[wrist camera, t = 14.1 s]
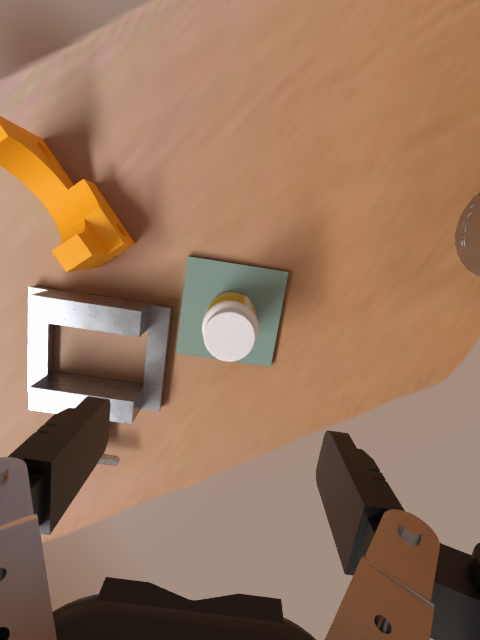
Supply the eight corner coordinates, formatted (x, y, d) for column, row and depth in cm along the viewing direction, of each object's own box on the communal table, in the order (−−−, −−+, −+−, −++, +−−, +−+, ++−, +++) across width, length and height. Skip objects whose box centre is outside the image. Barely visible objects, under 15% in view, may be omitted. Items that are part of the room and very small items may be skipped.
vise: (172, 306, 33) (163, 314, 29) (156, 457, 37) (146, 482, 33) (34, 285, 32) (6, 291, 28) (33, 441, 36) (8, 464, 33)
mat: (287, 271, 32) (288, 272, 31) (270, 364, 34) (270, 366, 34) (188, 256, 32) (187, 256, 31) (177, 351, 34) (176, 353, 33)
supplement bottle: (198, 313, 32) (184, 337, 24) (230, 280, 32) (227, 292, 23) (232, 345, 33) (230, 378, 25) (265, 313, 32) (273, 336, 24)
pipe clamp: (135, 243, 32) (110, 243, 25) (100, 266, 32) (66, 272, 26) (58, 128, 29) (9, 96, 23) (21, 155, 30) (-37, 131, 24)
